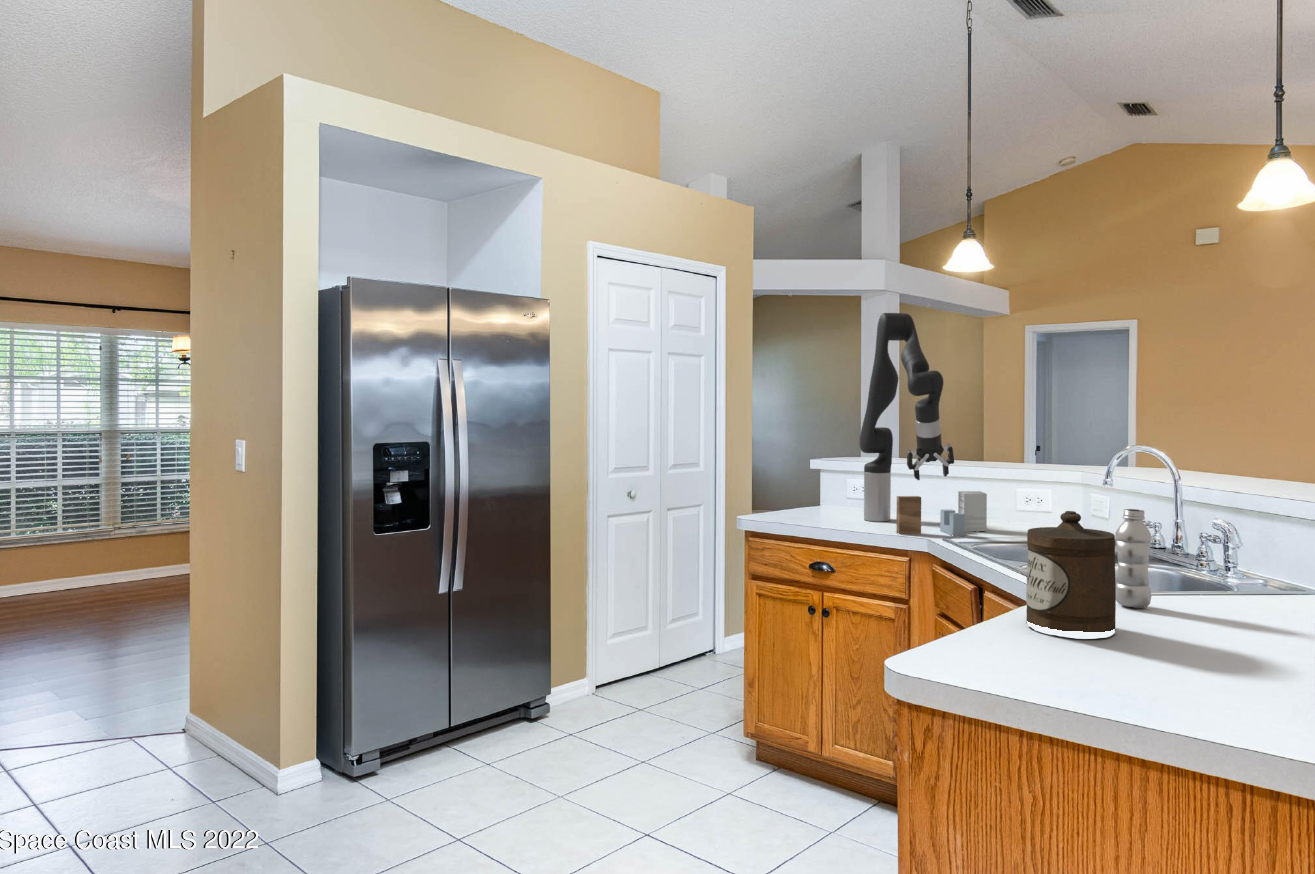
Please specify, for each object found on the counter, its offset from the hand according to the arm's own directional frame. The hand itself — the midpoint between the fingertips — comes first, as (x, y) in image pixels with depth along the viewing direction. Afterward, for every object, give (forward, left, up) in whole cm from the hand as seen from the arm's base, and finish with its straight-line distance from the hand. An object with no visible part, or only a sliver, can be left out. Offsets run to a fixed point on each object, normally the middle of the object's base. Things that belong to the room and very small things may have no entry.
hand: (931, 477), depth 267 cm
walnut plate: (+2, -8, -18) cm, 20 cm away
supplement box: (-5, +15, -18) cm, 24 cm away
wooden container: (+114, -12, -18) cm, 116 cm away
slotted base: (+2, +6, -18) cm, 19 cm away
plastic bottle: (+98, +9, -18) cm, 100 cm away
